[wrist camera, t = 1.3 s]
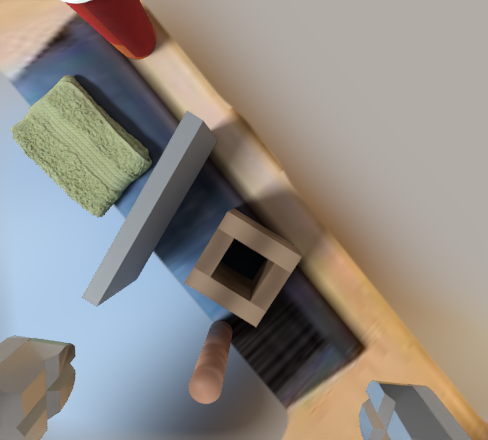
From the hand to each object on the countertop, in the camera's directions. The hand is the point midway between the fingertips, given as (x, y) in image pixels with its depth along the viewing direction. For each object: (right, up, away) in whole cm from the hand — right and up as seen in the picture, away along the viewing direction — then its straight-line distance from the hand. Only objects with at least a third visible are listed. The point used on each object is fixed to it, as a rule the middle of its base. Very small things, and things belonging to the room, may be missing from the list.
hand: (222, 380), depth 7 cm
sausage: (-3, -13, +33) cm, 36 cm away
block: (+1, -1, +32) cm, 32 cm away
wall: (-10, +6, +32) cm, 34 cm away
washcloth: (-22, +15, +33) cm, 42 cm away
